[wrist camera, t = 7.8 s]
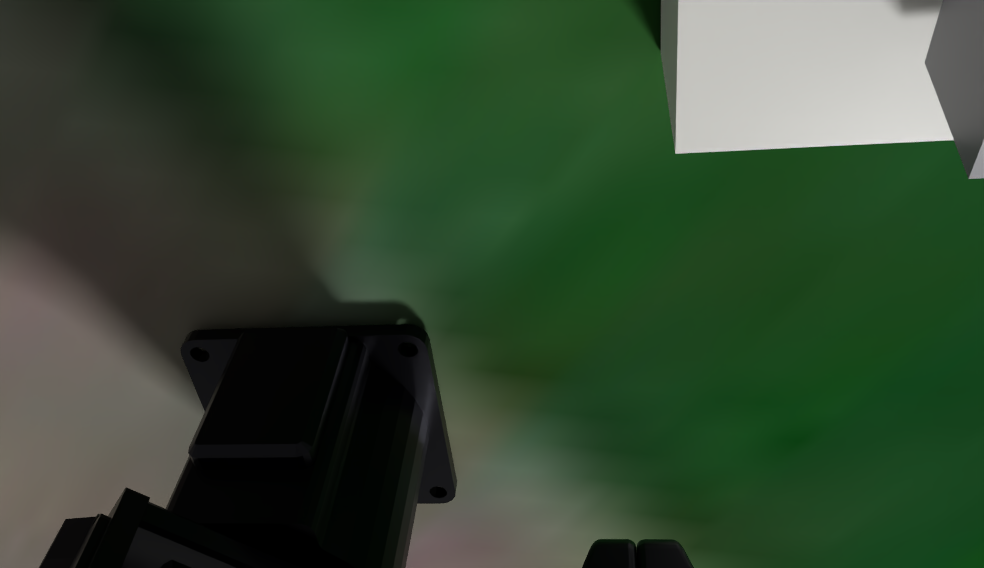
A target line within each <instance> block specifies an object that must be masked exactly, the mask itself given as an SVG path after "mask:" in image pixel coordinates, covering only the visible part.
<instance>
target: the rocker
mask: <svg viewBox="0 0 984 568" xmlns="http://www.w3.org/2000/svg"><path fill="white" fill-rule="evenodd" d="M925 65H926V68H927V70H928V73H929V76H930V78H931V81H932V84H933V86H934V89H935V91H936V94H937V97H938V99H939V102H940V105H941V107H942V110H943V113H944V115H945V118H946V120H947V123H948V126H949V128H950V131H951V134H952V136H953V139H954V141H955V144H956V147H957V149H958V152H959V155H960V157H961V160H962V163H963V165H964V168H965V170H966V173H967V176H968V178H969V179H974V178H984V0H943V2H942V5H941V9H940V12H939V15H938V19H937V22H936V25H935V29H934V32H933V36H932V39H931V42H930V46H929V49H928V53H927V56H926V59H925Z"/></svg>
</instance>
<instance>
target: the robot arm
mask: <svg viewBox="0 0 984 568" xmlns="http://www.w3.org/2000/svg"><path fill="white" fill-rule="evenodd" d="M404 342H409V343H412V344H414V345H415V346H413V347H410V346H406V345H404V344H403V343H404ZM198 347H199V348H203V349H205V350H206V351H202V350H200V349H199V348H198ZM181 355H182V357H183V360H184V362H185V365H186V367H187V369H188V372H189V374H190V377H191V379H192V381H193V384H194V386H195V389H196V391H197V393H198V396H199V398H200V401H201V403H202V405H203V408H204V410H205V413H204V415H203V418H202V420H201V422H200V424H199V427H198V429H197V431H196V433H195V435H194V438H193V440H192V442H191V444H190V446H189V452H188V453H189V458H188V460H187V462H186V464H185V467H184V469H183V471H182V473H181V476H180V478H179V480H178V482H177V484H176V487H175V489H174V491H173V493H172V496H171V498H170V500H169V502H168V505H167V507H166V509H164V508H162V507H160V506H157V505H155V504H153V503H150V502H149V499H150V497H147V496H145V495H143V494H140V493H138V492H136V491H133V490H131V489H129V488H125V490H124V491H123V493H122V494H121V496H120V498H119V499H118V501H117V502H116V504H115V506H114V507H113V509H112V510H111V512H110V514H109V515H108V516H106V515H103V514H97V516H96V517H86V518H73V519H66V520H65V521H64V523H63V525H62V527H61V528H60V530H59V532H58V534H57V535H56V537H55V539H54V541H53V543H52V545H51V546H50V548H49V550H48V552H47V554H46V556H45V557H44V559H43V561H42V563H41V565H40V567H39V568H405V567H406V561H407V556H408V550H409V545H410V539H411V534H412V528H413V523H414V517H415V512H416V506H417V503H447V502H449V501H451V500H453V498H454V497H455V493H456V486H457V479H456V474H455V469H454V463H453V458H452V453H451V448H450V443H449V437H448V432H447V427H446V422H445V417H444V411H443V406H442V401H441V396H440V391H439V386H438V380H437V375H436V370H435V365H434V360H433V354H432V349H431V344H430V339H429V337H428V334H427V333H426V332H425V331H424V330H423V329H422V328H420V327H417V326H415V325H408V324H401V325H363V326H325V327H288V328H250V329H213V330H196V331H192V332H191V333H189V334H188V335H187V337H186V339H185V341H184V343H183V345H182V347H181ZM437 486H438V487H437ZM582 568H694V567H693V565H692V564H691V562H690V560H689V558H688V556H687V554H686V552H685V550H684V549H683V547H682V546H681V545H680V543H679V542H677V541H675V540H663V539H644V540H641V541H639V542H638V544H637V553H636V545H635V543H634V542H633V541H631V540H628V539H599V540H597V541H595V542H594V543H593V544H592V546H591V548H590V550H589V552H588V555H587V557H586V560H585V562H584V564H583V567H582Z"/></svg>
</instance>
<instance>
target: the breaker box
mask: <svg viewBox="0 0 984 568" xmlns="http://www.w3.org/2000/svg"><path fill="white" fill-rule="evenodd" d="M942 2H943V0H661V59H662V65H663V72H664V79H665V86H666V93H667V100H668V106H669V113H670V120H671V127H672V134H673V140H674V147H675V154H677V153H697V152H718V151H738V150H758V149H779V148H799V147H820V146H840V145H860V144H881V143H901V142H922V141H942V140H954V139H953V136H952V134H951V131H950V128H949V126H948V123H947V120H946V118H945V115H944V113H943V110H942V107H941V105H940V102H939V99H938V97H937V94H936V91H935V89H934V86H933V84H932V81H931V78H930V76H929V73H928V70H927V68H926V65H925V59H926V56H927V53H928V49H929V46H930V42H931V39H932V36H933V32H934V29H935V25H936V22H937V19H938V15H939V12H940V9H941V5H942Z"/></svg>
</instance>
